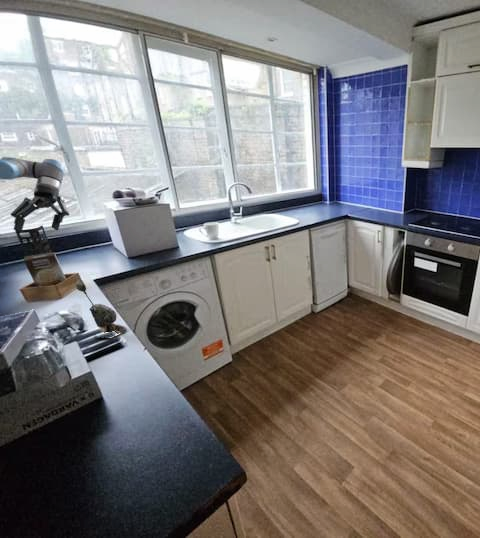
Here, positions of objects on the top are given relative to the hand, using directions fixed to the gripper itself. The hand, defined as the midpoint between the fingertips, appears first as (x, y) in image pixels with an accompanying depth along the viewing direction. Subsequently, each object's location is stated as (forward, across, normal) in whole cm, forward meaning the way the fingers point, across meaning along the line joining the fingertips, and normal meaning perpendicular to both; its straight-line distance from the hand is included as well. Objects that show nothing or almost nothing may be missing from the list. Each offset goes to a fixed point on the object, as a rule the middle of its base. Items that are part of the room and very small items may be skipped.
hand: (36, 229), depth 126 cm
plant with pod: (+56, -48, +21) cm, 77 cm away
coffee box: (+26, -6, -8) cm, 28 cm away
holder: (-6, +28, -42) cm, 51 cm away
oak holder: (+27, -6, -9) cm, 29 cm away
